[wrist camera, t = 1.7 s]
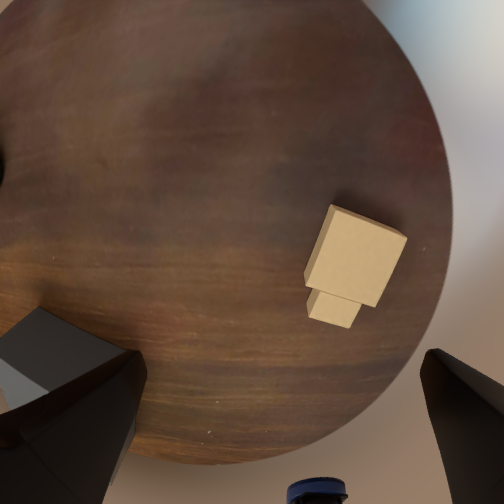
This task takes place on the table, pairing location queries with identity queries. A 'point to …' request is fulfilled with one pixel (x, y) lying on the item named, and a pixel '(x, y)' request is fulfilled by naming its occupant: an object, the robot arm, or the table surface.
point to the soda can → (0, 169)
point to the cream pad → (350, 265)
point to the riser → (50, 360)
